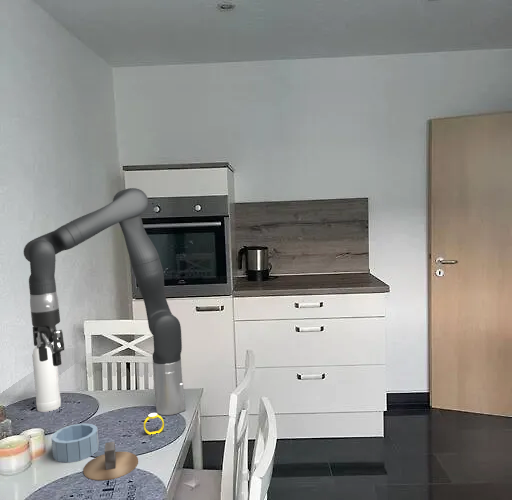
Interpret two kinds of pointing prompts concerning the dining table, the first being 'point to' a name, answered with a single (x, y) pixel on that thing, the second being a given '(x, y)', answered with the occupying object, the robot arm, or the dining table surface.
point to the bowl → (75, 442)
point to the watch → (152, 416)
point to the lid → (110, 464)
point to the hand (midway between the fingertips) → (50, 363)
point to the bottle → (46, 382)
